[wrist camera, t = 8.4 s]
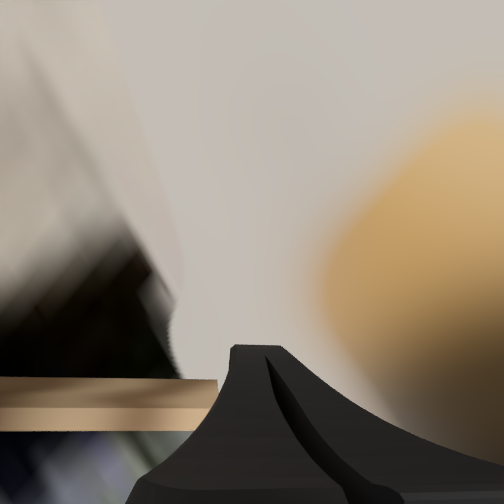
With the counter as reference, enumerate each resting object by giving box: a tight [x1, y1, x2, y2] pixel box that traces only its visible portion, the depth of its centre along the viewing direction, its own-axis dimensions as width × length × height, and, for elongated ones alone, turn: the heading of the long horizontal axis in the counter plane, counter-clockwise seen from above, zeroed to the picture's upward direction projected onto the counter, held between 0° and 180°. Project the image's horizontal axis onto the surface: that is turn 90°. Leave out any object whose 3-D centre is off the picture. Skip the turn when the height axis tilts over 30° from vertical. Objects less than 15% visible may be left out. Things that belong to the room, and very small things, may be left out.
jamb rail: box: [0, 377, 219, 431], centre depth 21 cm, size 20×1×2 cm, turn 85°
